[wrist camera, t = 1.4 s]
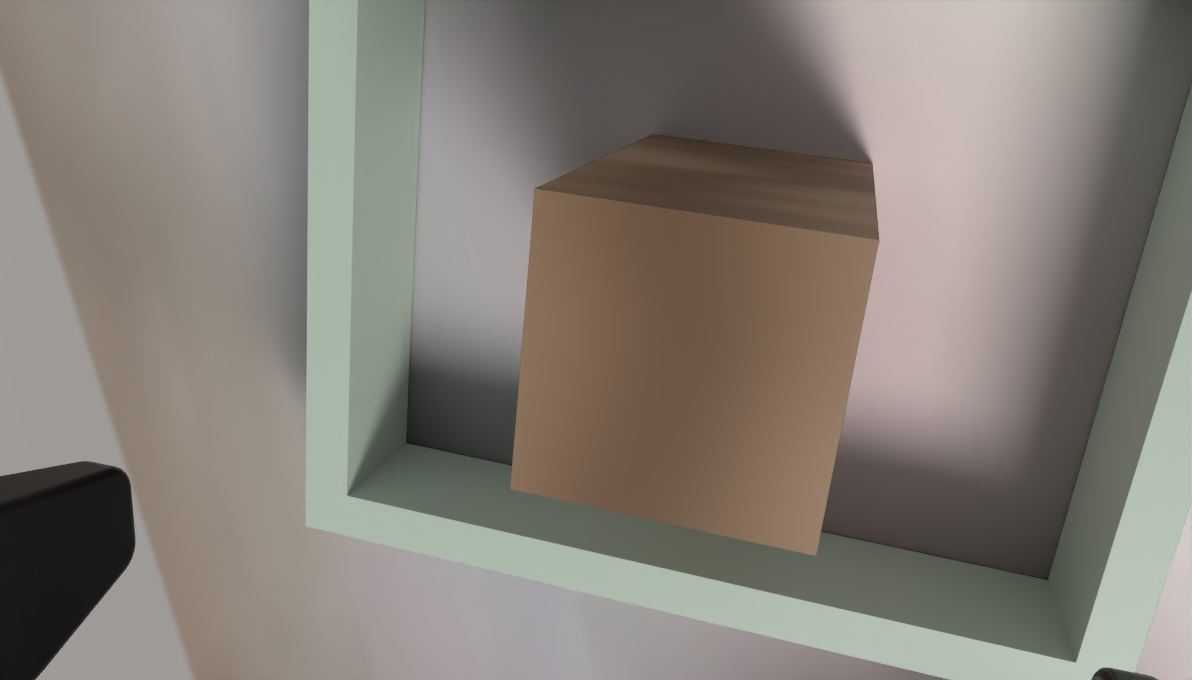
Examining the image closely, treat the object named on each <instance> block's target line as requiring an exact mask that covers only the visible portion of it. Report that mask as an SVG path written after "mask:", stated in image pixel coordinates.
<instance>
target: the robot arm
mask: <svg viewBox="0 0 1192 680" xmlns="http://www.w3.org/2000/svg"><path fill="white" fill-rule="evenodd" d="M134 549H135V529H134V518H133V506H132V494H131V484H130V480H129V478H128V476H127V474H126V473H125V472H124V471H123V470H122V469H120V468H118V467H114V466H109V465H104V464H99V463H94V462H88V461H84V462H77V463H70V464H66V465H60V466H54V467H49V468H43V469H38V470H32V471H27V472H21V473H16V474H10V475H5V476H0V680H35V679H36V678H37V677H38V676H39V675H40V673H41V672H42V671H43V670H44V669H45V668H46V666H47V665H48V664H49V663H50V661H51V660H52V659H53V658H54V657H55V655H56V654H57V653H58V652H59V650H60V649H61V648H62V647H63V646H64V644H65V643H66V642H67V641H68V639H69V638H70V637H71V636H72V634H73V633H74V632H75V631H76V629H77V628H78V627H79V626H80V625H81V623H82V622H83V621H84V620H85V619H86V617H87V616H88V615H89V614H90V612H91V611H92V610H93V609H94V607H95V606H96V605H97V604H98V602H99V601H100V600H101V599H102V598H103V596H104V595H105V594H106V593H107V592H108V590H109V589H110V588H111V586H112V585H113V584H114V583H115V582H116V580H117V579H118V578H119V577H120V576H121V574H122V573H123V572H124V570H125V569H126V568H127V566H128V565H129V563H130V561H131V559H132V556H133V553H134ZM1091 680H1158V679H1156V678H1154V677H1151V676H1148V675H1144V674H1139V673H1134V672H1129V671H1124V670H1119V669H1114V668H1101V669H1099V670H1098V671H1097V672H1096V673H1095V674H1094V675H1093V677H1092V679H1091Z"/></svg>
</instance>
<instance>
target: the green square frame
mask: <svg viewBox="0 0 1192 680" xmlns="http://www.w3.org/2000/svg"><path fill="white" fill-rule="evenodd" d="M424 16H425V0H309V83H308V232H307V380H306V526H307V527H311V528H315V529H320V530H324V531H328V532H332V533H336V534H341V535H345V536H349V537H353V538H357V539H361V540H366V541H370V542H374V543H378V544H382V545H387V546H391V547H395V548H399V549H403V550H408V551H412V552H416V553H420V554H424V555H429V556H433V557H437V558H441V559H445V560H450V561H454V562H458V563H462V564H466V565H470V566H475V567H479V568H483V569H487V570H491V571H496V572H500V573H504V574H508V575H512V576H517V577H521V578H525V579H529V580H533V581H538V582H542V583H546V584H550V585H554V586H559V587H563V588H567V589H571V590H575V591H579V592H584V593H588V594H592V595H596V596H600V597H605V598H609V599H613V600H617V601H621V602H626V603H630V604H634V605H638V606H642V607H647V608H651V609H655V610H659V611H663V612H667V613H672V614H676V615H680V616H684V617H688V618H693V619H697V620H701V621H705V622H709V623H714V624H718V625H722V626H726V627H730V628H735V629H739V630H743V631H747V632H751V633H756V634H760V635H764V636H768V637H772V638H776V639H781V640H785V641H789V642H793V643H797V644H802V645H806V646H810V647H814V648H818V649H823V650H827V651H831V652H835V653H839V654H844V655H848V656H852V657H856V658H860V659H864V660H869V661H873V662H877V663H881V664H885V665H890V666H894V667H898V668H902V669H906V670H911V671H915V672H919V673H923V674H927V675H932V676H936V677H940V678H944V679H948V680H1091V679H1092V677H1093V675H1094V674H1095V673H1096V672H1097V671H1098V670H1099V669H1101V668H1114V669H1119V670H1124V671H1129V672H1134V673H1135V671H1136V668H1137V665H1138V662H1139V659H1140V656H1141V653H1142V650H1143V647H1144V644H1145V641H1146V638H1147V635H1148V632H1149V629H1150V626H1151V623H1152V620H1153V617H1154V614H1155V611H1156V608H1157V605H1158V602H1159V599H1160V596H1161V593H1162V590H1163V587H1164V584H1165V581H1166V578H1167V575H1168V572H1169V569H1170V566H1171V563H1172V560H1173V557H1174V554H1175V551H1176V548H1177V545H1178V542H1179V539H1180V536H1181V533H1182V530H1183V527H1184V524H1185V521H1186V518H1187V515H1188V512H1189V509H1190V506H1191V503H1192V84H1191V88H1190V91H1189V95H1188V98H1187V102H1186V105H1185V109H1184V112H1183V115H1182V119H1181V122H1180V126H1179V129H1178V133H1177V136H1176V140H1175V143H1174V146H1173V150H1172V153H1171V157H1170V160H1169V164H1168V167H1167V171H1166V174H1165V178H1164V181H1163V184H1162V188H1161V191H1160V195H1159V198H1158V202H1157V205H1156V209H1155V212H1154V215H1153V219H1152V222H1151V226H1150V229H1149V233H1148V236H1147V240H1146V243H1145V246H1144V250H1143V253H1142V257H1141V260H1140V264H1139V267H1138V271H1137V274H1136V277H1135V281H1134V284H1133V288H1132V291H1131V295H1130V298H1129V302H1128V305H1127V309H1126V312H1125V315H1124V319H1123V322H1122V326H1121V329H1120V333H1119V336H1118V340H1117V343H1116V346H1115V350H1114V353H1113V357H1112V360H1111V364H1110V367H1109V371H1108V374H1107V377H1106V381H1105V384H1104V388H1103V391H1102V395H1101V398H1100V402H1099V405H1098V409H1097V412H1096V415H1095V419H1094V422H1093V426H1092V429H1091V433H1090V436H1089V440H1088V443H1087V446H1086V450H1085V453H1084V457H1083V460H1082V464H1081V467H1080V471H1079V474H1078V477H1077V481H1076V484H1075V488H1074V491H1073V495H1072V498H1071V502H1070V505H1069V509H1068V512H1067V515H1066V519H1065V522H1064V526H1063V529H1062V533H1061V536H1060V540H1059V543H1058V546H1057V550H1056V553H1055V557H1054V560H1053V564H1052V567H1051V571H1050V574H1049V577H1048V580H1045V579H1040V578H1035V577H1031V576H1026V575H1021V574H1017V573H1012V572H1007V571H1003V570H998V569H993V568H989V567H984V566H979V565H975V564H970V563H965V562H960V561H956V560H951V559H946V558H942V557H937V556H932V555H928V554H923V553H918V552H914V551H909V550H904V549H900V548H895V547H890V546H886V545H881V544H876V543H872V542H867V541H862V540H858V539H853V538H848V537H843V536H839V535H834V534H829V533H825V532H821V534H820V539H819V544H818V549H817V554H816V556H813V555H809V554H804V553H799V552H795V551H790V550H786V549H781V548H777V547H772V546H767V545H763V544H758V543H754V542H749V541H745V540H740V539H735V538H731V537H726V536H722V535H717V534H713V533H708V532H703V531H699V530H694V529H690V528H685V527H681V526H676V525H671V524H667V523H662V522H658V521H653V520H649V519H644V518H639V517H635V516H630V515H626V514H621V513H617V512H612V511H607V510H603V509H598V508H594V507H589V506H585V505H580V504H576V503H571V502H566V501H562V500H557V499H553V498H548V497H544V496H539V495H534V494H530V493H525V492H521V491H516V490H512V489H510V485H511V473H512V466H511V465H506V464H502V463H497V462H492V461H488V460H483V459H478V458H474V457H469V456H464V455H460V454H455V453H450V452H446V451H441V450H436V449H432V448H427V447H422V446H418V445H413V444H408V443H406V434H407V411H408V388H409V365H410V341H411V318H412V295H413V272H414V248H415V225H416V202H417V179H418V155H419V132H420V109H421V86H422V62H423V39H424Z"/></svg>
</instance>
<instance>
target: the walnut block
mask: <svg viewBox="0 0 1192 680" xmlns="http://www.w3.org/2000/svg"><path fill="white" fill-rule="evenodd" d="M878 244H879V232H878V221H877V209H876V198H875V187H874V175H873V164H872V163H865V162H857V161H850V160H842V159H835V158H827V157H820V156H812V155H805V154H797V153H790V152H782V151H775V150H767V149H760V148H753V147H745V146H738V145H730V144H723V143H715V142H708V141H700V140H693V139H685V138H678V137H670V136H663V135H655V134H653V135H650V136H648V137H646V138H644V139H642V140H640V141H637V142H635V143H633V144H631V145H629V146H627V147H624V148H622V149H620V150H618V151H616V152H613V153H611V154H609V155H607V156H605V157H603V158H600V159H598V160H596V161H594V162H592V163H590V164H587V165H585V166H583V167H581V168H579V169H577V170H574V171H572V172H570V173H568V174H566V175H563V176H561V177H559V178H557V179H555V180H553V181H550V182H548V183H546V184H544V185H542V186H540V187H537V188H535V193H534V206H533V218H532V230H531V242H530V254H529V266H528V279H527V291H526V303H525V315H524V327H523V339H522V352H521V364H520V376H519V388H518V400H517V412H516V425H515V437H514V449H513V461H512V473H511V485H510V489H512V490H516V491H521V492H525V493H530V494H534V495H539V496H544V497H548V498H553V499H557V500H562V501H566V502H571V503H576V504H580V505H585V506H589V507H594V508H598V509H603V510H607V511H612V512H617V513H621V514H626V515H630V516H635V517H639V518H644V519H649V520H653V521H658V522H662V523H667V524H671V525H676V526H681V527H685V528H690V529H694V530H699V531H703V532H708V533H713V534H717V535H722V536H726V537H731V538H735V539H740V540H745V541H749V542H754V543H758V544H763V545H767V546H772V547H777V548H781V549H786V550H790V551H795V552H799V553H804V554H809V555H813V556H816V554H817V549H818V544H819V539H820V534H821V529H822V524H823V519H824V514H825V509H826V504H827V499H828V494H829V489H830V484H831V479H832V474H833V469H834V464H835V459H836V454H837V449H838V444H839V439H840V434H841V429H842V424H843V419H844V414H845V409H846V404H847V399H848V394H849V389H850V384H851V379H852V374H853V369H854V364H855V359H856V354H857V349H858V344H859V339H860V334H861V329H862V324H863V319H864V314H865V309H866V304H867V299H868V294H869V289H870V284H871V279H872V274H873V269H874V264H875V259H876V254H877V249H878Z"/></svg>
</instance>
